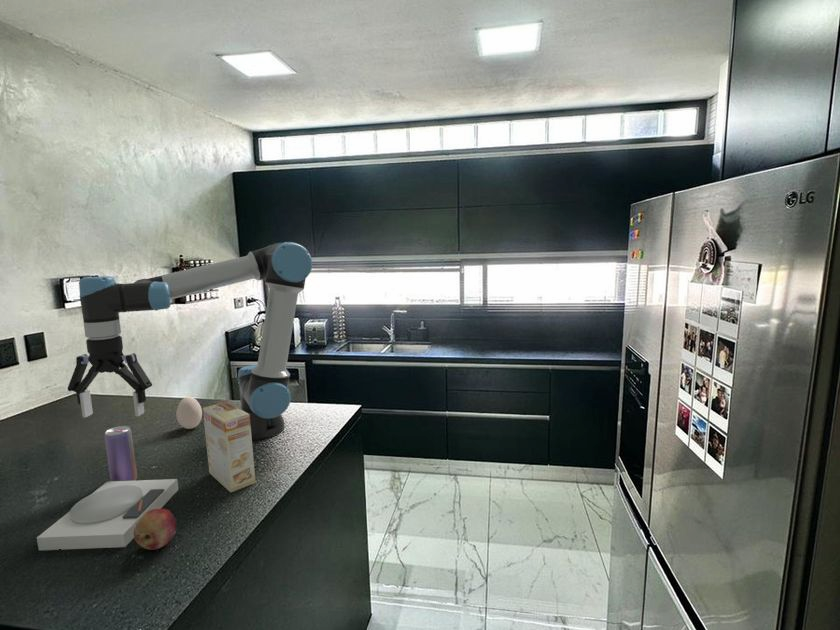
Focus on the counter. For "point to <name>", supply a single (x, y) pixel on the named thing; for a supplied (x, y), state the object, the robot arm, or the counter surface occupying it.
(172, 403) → the counter surface
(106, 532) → the scale
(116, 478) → the beverage can
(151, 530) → the fruit
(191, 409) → the egg
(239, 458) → the coffeecake box
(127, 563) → the counter surface
